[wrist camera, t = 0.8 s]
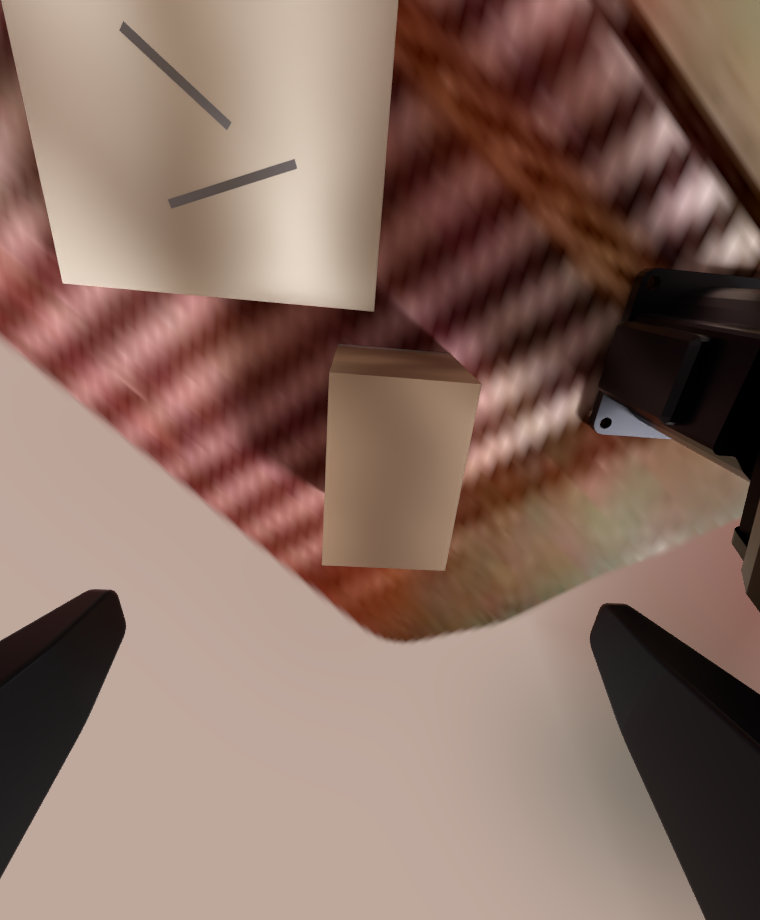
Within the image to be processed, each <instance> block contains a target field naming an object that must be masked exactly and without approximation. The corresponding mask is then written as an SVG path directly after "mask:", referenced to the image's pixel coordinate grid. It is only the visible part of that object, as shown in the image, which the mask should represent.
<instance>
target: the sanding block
mask: <svg viewBox="0 0 760 920" xmlns="http://www.w3.org/2000/svg"><path fill="white" fill-rule="evenodd" d="M481 385H482V384H481V383H480V382H479V381H478V380H477V379H476V378H475V377H474V376H473V375H472V374H471V373H470V372H469V371H467V370H466V369H465V368H464V367H463V366H462V365H461V364H460V363H459V362H458V361H457V360H456V359H455V358H454V357H453V356H452V355H451V354H450V353H443V352H431V351H419V350H407V349H396V348H384V347H372V346H360V345H348V344H338V346H337V349H336V352H335V355H334V358H333V362H332V365H331V368H330V371H329V391H328V418H327V445H326V472H325V499H324V526H323V553H322V565H330V566H353V567H375V568H398V569H420V570H443V571H445V567H446V562H447V557H448V552H449V547H450V542H451V537H452V532H453V527H454V522H455V517H456V512H457V507H458V501H459V496H460V491H461V486H462V481H463V476H464V471H465V466H466V461H467V456H468V451H469V446H470V441H471V436H472V430H473V425H474V420H475V415H476V410H477V405H478V400H479V395H480V390H481Z"/></svg>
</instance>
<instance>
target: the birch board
mask: <svg viewBox="0 0 760 920" xmlns="http://www.w3.org/2000/svg"><path fill="white" fill-rule="evenodd" d="M1 2H2V6H3V11H4V16H5V20H6V25H7V29H8V34H9V38H10V43H11V48H12V52H13V57H14V61H15V66H16V71H17V75H18V80H19V84H20V89H21V94H22V98H23V103H24V107H25V112H26V116H27V121H28V126H29V130H30V135H31V139H32V144H33V149H34V153H35V158H36V162H37V167H38V172H39V176H40V181H41V185H42V190H43V195H44V199H45V204H46V208H47V213H48V217H49V222H50V227H51V231H52V236H53V240H54V245H55V250H56V254H57V259H58V263H59V268H60V273H61V277H62V282H63V283H65V284H76V285H87V286H98V287H109V288H120V289H131V290H142V291H153V292H164V293H175V294H186V295H197V296H208V297H219V298H230V299H241V300H252V301H263V302H274V303H285V304H296V305H307V306H318V307H329V308H340V309H351V310H362V311H373V312H374V304H375V292H376V279H377V266H378V253H379V241H380V228H381V215H382V202H383V190H384V177H385V164H386V151H387V139H388V126H389V113H390V100H391V88H392V75H393V62H394V49H395V37H396V24H397V11H398V0H1Z"/></svg>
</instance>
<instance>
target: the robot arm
mask: <svg viewBox="0 0 760 920" xmlns="http://www.w3.org/2000/svg"><path fill="white" fill-rule="evenodd" d="M651 277H653V279H654V282H653V285H652V286H651V287H650V288H649V289H648V288H647V281H648V280H649V278H651ZM598 387H599V392H598V396H597V399H596V402H595V405H594V408H593V411H592V414H591V417H590V422H589V424H590V427H591V428H592V429H593V430H595V431H596V432H597V433H600V434H607V435H621V436H635V437H649V438H663V439H673V440H675V441H677V442H678V443H680V444H682V445H684V446H686V447H687V448H689V449H691V450H693V451H695V452H696V453H698V454H700V455H702V456H704V457H705V458H707V459H709V460H711V461H713V462H714V463H716V464H718V465H720V466H722V467H723V468H725V469H727V470H729V471H731V472H732V473H734V474H736V475H738V476H740V477H741V478H743V479H745V480H747V481H749V482H750V485H749V489H748V493H747V498H746V502H745V506H744V510H743V514H742V518H741V522H740V526H738V527H736V528H735V530H734V534H733V538H732V544H733V546H734V547H735V549H736V550H737V552H738V553H739V555H740V556H741V558H742V559H743V561H744V562H743V566H742V575H743V580H744V585H745V590H746V594H747V595H748V597H749V598H750V599H751V601H752V602H753V603H754V605H755V606H756V608H757V609H758V610H759V612H760V279H759V278H749V277H739V276H730V275H720V274H710V273H701V272H691V271H682V270H672V269H662V268H648V269H645V270H643V271H641V272H640V273H639V274H638V275H637V277H636V279H635V281H634V284H633V287H632V290H631V293H630V296H629V299H628V302H627V305H626V309H625V312H624V315H623V318H622V321H621V324H620V325H618V326H617V329H616V332H615V335H614V338H613V341H612V344H611V347H610V351H609V354H608V357H607V360H606V363H605V366H604V369H603V372H602V376H601V379H600V382H599V385H598ZM604 418H607V421H606V422H605V424H603V425H600V422H601V420H602V419H604ZM125 629H126V622H125V618H124V615H123V611H122V608H121V605H120V601H119V598H118V595H117V593H116V592H115V591H113V590H101V589H100V590H99V589H93V590H88V591H86V592H84V593H82V594H81V595H79V596H77V597H76V598H74V599H72V600H70V601H68V602H67V603H65V604H63V605H62V606H60V607H58V608H56V609H55V610H53V611H51V612H50V613H48V614H46V615H44V616H43V617H41V618H39V619H37V620H36V621H34V622H32V623H31V624H29V625H27V626H25V627H23V628H22V629H20V630H18V631H17V632H15V633H13V634H11V635H10V636H8V637H6V638H4V639H3V640H1V641H0V878H1V876H2V874H3V873H4V871H5V869H6V867H7V865H8V864H9V862H10V860H11V858H12V856H13V855H14V853H15V851H16V849H17V847H18V846H19V844H20V842H21V840H22V838H23V836H24V835H25V833H26V831H27V829H28V827H29V826H30V824H31V822H32V820H33V818H34V816H35V814H36V813H37V811H38V809H39V807H40V806H41V804H42V802H43V800H44V798H45V796H46V795H47V793H48V791H49V789H50V787H51V785H52V784H53V782H54V780H55V778H56V776H57V775H58V773H59V771H60V769H61V767H62V766H63V764H64V762H65V760H66V758H67V757H68V755H69V753H70V751H71V749H72V748H73V746H74V744H75V742H76V740H77V738H78V736H79V734H80V733H81V731H82V729H83V727H84V725H85V723H86V721H87V719H88V717H89V715H90V713H91V710H92V708H93V706H94V704H95V701H96V699H97V697H98V695H99V692H100V690H101V688H102V685H103V683H104V681H105V678H106V676H107V674H108V672H109V669H110V667H111V665H112V662H113V660H114V658H115V655H116V653H117V651H118V649H119V646H120V644H121V642H122V639H123V637H124V634H125ZM590 644H591V648H592V651H593V654H594V657H595V659H596V662H597V666H598V669H599V671H600V674H601V677H602V680H603V683H604V686H605V689H606V692H607V694H608V697H609V700H610V703H611V706H612V709H613V711H614V715H615V718H616V720H617V723H618V725H619V728H620V730H621V733H622V735H623V737H624V740H625V743H626V745H627V747H628V749H629V752H630V753H631V756H632V758H633V760H634V763H635V765H636V767H637V769H638V771H639V773H640V776H641V778H642V780H643V782H644V785H645V787H646V789H647V791H648V793H649V796H650V798H651V800H652V802H653V804H654V807H655V809H656V811H657V813H658V815H659V818H660V820H661V822H662V824H663V827H664V829H665V831H666V833H667V835H668V837H669V840H670V842H671V844H672V846H673V849H674V851H675V853H676V855H677V857H678V860H679V862H680V864H681V866H682V869H683V871H684V872H685V875H686V877H687V879H688V882H689V884H690V886H691V888H692V891H693V893H694V895H695V897H696V899H697V902H698V904H699V906H700V908H701V910H702V913H703V915H704V917H705V919H706V920H760V694H758V693H757V692H755V691H754V690H752V689H751V688H749V687H748V686H747V685H745V684H743V683H742V682H741V681H739V680H738V679H736V678H735V677H733V676H732V675H730V674H729V673H727V672H726V671H724V670H723V669H721V668H720V667H718V666H717V665H716V664H714V663H713V662H711V661H710V660H708V659H707V658H705V657H704V656H702V655H701V654H699V653H698V652H697V651H695V650H694V649H692V648H691V647H689V646H688V645H686V644H685V643H683V642H681V641H680V640H679V639H677V638H676V637H674V636H673V635H672V634H670V633H668V632H667V631H666V630H664V629H663V628H661V627H660V626H658V625H657V624H655V623H654V622H652V621H651V620H649V619H648V618H647V617H645V616H643V615H642V614H641V613H639V612H638V611H636V610H635V609H633V608H632V607H630V606H628V605H626V604H618V603H617V604H616V603H615V604H614V603H606V604H603V605H602V606H601V607H600V609H599V612H598V615H597V617H596V620H595V623H594V625H593V628H592V631H591V634H590Z"/></svg>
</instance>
